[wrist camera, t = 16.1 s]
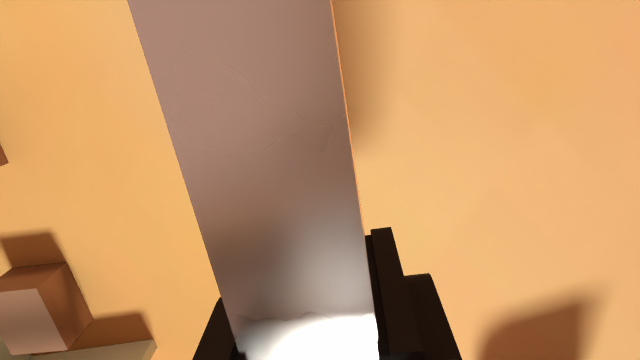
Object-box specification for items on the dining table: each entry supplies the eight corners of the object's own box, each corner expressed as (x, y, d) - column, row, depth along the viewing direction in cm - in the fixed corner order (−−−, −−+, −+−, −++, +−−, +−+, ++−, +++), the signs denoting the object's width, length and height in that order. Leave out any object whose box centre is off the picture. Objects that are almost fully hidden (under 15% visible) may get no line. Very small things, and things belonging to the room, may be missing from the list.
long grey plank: (204, -117, 8) (24, -322, 3) (312, -142, 8) (274, -399, 3) (338, 472, 15) (338, 667, 10) (397, 469, 15) (424, 667, 10)
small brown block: (14, 266, 26) (-24, 294, 23) (68, 260, 25) (36, 288, 23) (44, 322, 28) (11, 355, 25) (94, 317, 27) (67, 350, 24)
